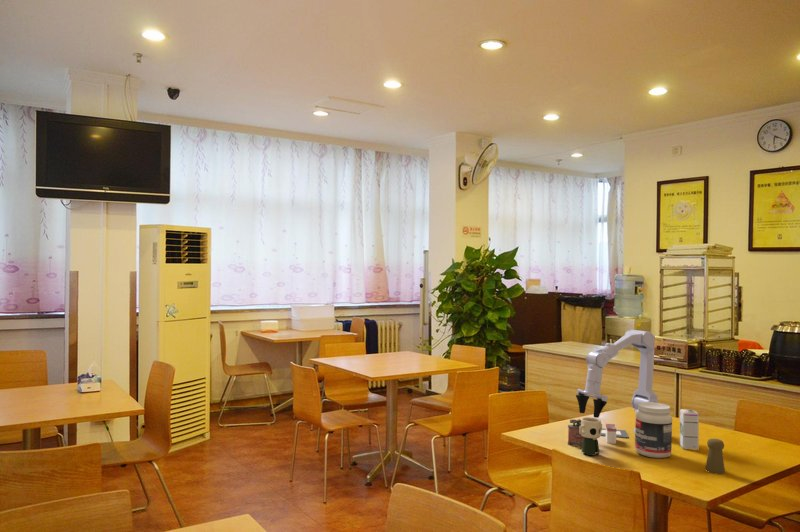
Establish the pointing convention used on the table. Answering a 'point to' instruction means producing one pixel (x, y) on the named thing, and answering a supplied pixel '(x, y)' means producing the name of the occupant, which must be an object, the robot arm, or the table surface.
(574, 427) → the lighter
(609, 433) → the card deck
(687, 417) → the syrup box
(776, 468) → the table surface
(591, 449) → the character mug
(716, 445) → the grey pepper shaker
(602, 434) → the mat
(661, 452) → the supplement tub
